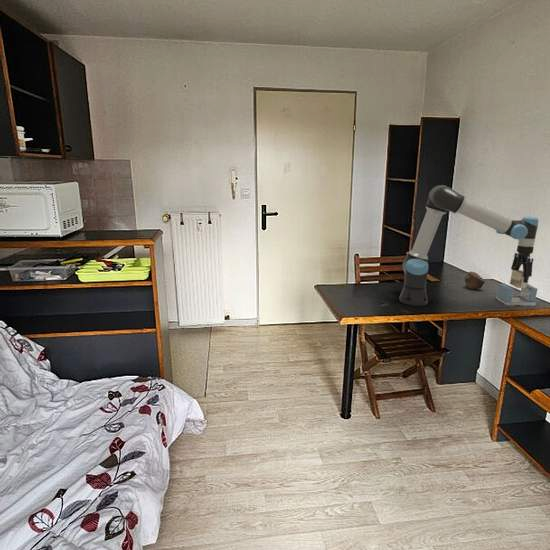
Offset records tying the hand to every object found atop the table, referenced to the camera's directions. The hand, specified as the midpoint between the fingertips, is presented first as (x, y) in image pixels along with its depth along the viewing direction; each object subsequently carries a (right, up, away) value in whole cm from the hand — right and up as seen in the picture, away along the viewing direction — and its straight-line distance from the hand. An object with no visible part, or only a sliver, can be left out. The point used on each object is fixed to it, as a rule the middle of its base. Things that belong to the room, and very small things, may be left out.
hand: (518, 285), depth 223 cm
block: (0, 0, 0) cm, 0 cm away
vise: (0, -10, +3) cm, 10 cm away
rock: (-13, -3, +27) cm, 30 cm away
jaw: (-6, -8, +2) cm, 10 cm away
